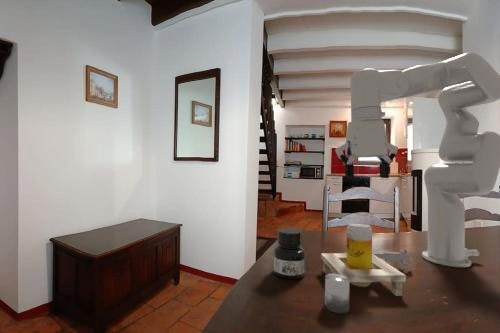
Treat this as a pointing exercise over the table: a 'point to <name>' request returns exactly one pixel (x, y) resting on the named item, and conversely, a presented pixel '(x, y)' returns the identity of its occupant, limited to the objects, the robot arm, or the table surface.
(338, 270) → the birch stand
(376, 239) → the table surface
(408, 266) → the caliper
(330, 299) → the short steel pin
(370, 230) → the beer can
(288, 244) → the ink bottle
